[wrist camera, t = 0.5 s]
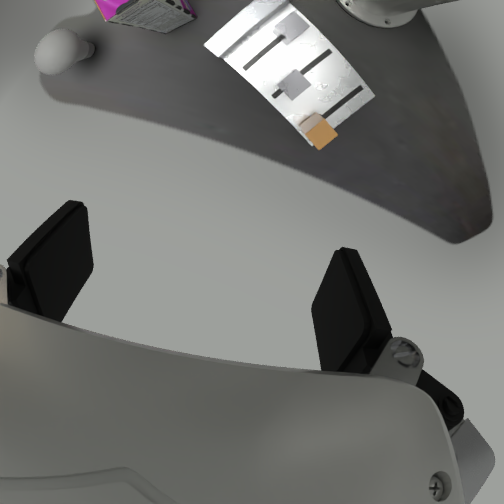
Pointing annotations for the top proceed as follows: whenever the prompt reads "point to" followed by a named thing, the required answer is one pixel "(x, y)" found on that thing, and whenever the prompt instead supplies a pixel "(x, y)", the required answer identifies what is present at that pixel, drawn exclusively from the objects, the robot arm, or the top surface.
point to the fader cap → (318, 130)
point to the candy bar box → (147, 13)
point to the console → (290, 63)
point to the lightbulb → (61, 51)
